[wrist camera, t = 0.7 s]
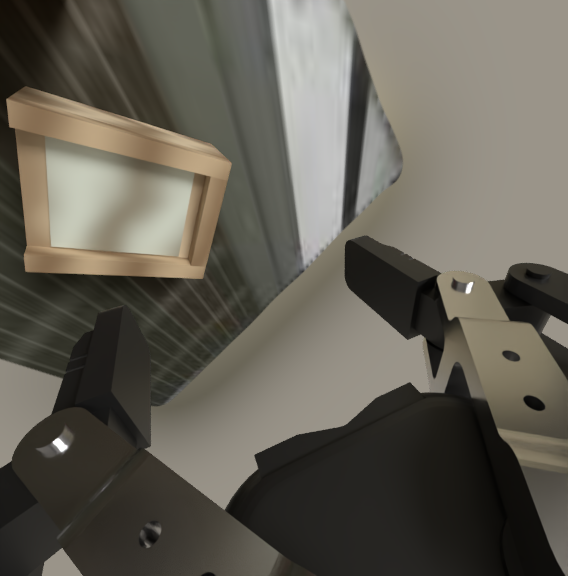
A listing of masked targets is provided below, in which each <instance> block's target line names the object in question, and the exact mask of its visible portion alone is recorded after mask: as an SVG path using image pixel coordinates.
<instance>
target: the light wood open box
mask: <svg viewBox="0 0 568 576" xmlns="http://www.w3.org/2000/svg"><path fill="white" fill-rule="evenodd" d="M6 101H7V110H8V119H9V127H11V128H15V133H16V143H17V152H18V162H19V172H20V181H21V191H22V201H23V210H24V220H25V230H26V240H27V247H26V250H25V253H24V262H25V271H26V272H44V273H69V274H95V275H120V276H146V277H171V278H197V279H203V275H204V271H205V267H206V264H207V260H208V256H209V252H210V248H211V244H212V240H213V236H214V232H215V228H216V224H217V220H218V216H219V212H220V208H221V204H222V200H223V196H224V193H225V189H226V185H227V181H228V177H229V173H230V169H231V165H232V163H231V162H230V161H229V160H228V159H227V158H226V157H225V156H223V155H222V154H221V153H220V152H219V151H218V150H217V149H216V148H215V147H214V146H213V145H212V144H209V143H206V142H203V141H200V140H197V139H193V138H190V137H187V136H184V135H181V134H177V133H174V132H171V131H168V130H165V129H161V128H158V127H155V126H152V125H149V124H145V123H142V122H139V121H136V120H133V119H129V118H126V117H123V116H120V115H117V114H113V113H110V112H107V111H104V110H101V109H97V108H94V107H91V106H88V105H85V104H81V103H78V102H75V101H72V100H69V99H65V98H62V97H59V96H56V95H53V94H49V93H46V92H43V91H40V90H37V89H33V88H30V87H27V86H25V87H24V88H22V89H21V90H19V91H18V92H16V93H15V94H13V95H12V96H10V97H9V98H7V99H6Z"/></svg>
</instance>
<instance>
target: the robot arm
mask: <svg viewBox="0 0 568 576" xmlns="http://www.w3.org/2000/svg"><path fill="white" fill-rule="evenodd" d="M345 280H346V283H347V285H348V287H349V289H350V290H351V291H353V292H354V293H355V294H356V295H357V296H358V297H359V298H360V299H362V300H363V301H364V302H365V303H366V304H367V305H368V306H369V307H371V308H372V309H373V310H374V311H375V312H376V313H377V314H379V315H380V316H381V317H382V318H383V319H384V320H386V321H387V322H388V323H389V324H390V325H391V326H392V327H393V328H395V329H396V330H397V331H398V332H399V333H400V334H401V335H403V336H404V337H405V338H406V339H407V340H408V339H411V338H413V337H415V336H418V335H420V334H421V335H422V336H424V340H423V350H424V356H425V362H426V368H427V374H428V380H429V386H430V392H429V393H420V392H419V391H418V390H417V389H416V388H415V387H414V386H413V385H412V384H411V383H407V384H405V385H403V386H401V387H399V388H396V389H394V390H392V391H390V392H388V393H386V394H384V395H381V396H379V397H377V398H376V399H375V400H373V401H372V402H371V403H370V404H369V405H368V406H367V407H366V408H364V409H363V410H362V411H361V412H360V413H359V414H358V415H357V416H356V417H354V418H353V419H352V420H351V421H350V422H349V423H348V424H346V425H344V426H342V427H338V428H332V429H327V430H322V431H316V432H310V433H305V434H299V435H296V436H294V437H292V438H289V439H287V440H285V441H283V442H281V443H279V444H277V445H275V446H272V447H270V448H268V449H266V450H264V451H262V452H259V453H257V454H255V459H256V462H257V465H258V470H257V471H255V472H254V473H253V474H252V475H251V476H249V478H248V479H247V480H246V481H245V482H244V483H243V484H242V485H241V486H240V488H239V489H238V490H237V492H236V493H235V494H234V496H233V497H232V498H231V500H230V502H229V504H228V505H227V507H226V509H225V510H223V509H222V508H221V507H219V506H218V505H217V504H216V503H214V502H213V501H212V500H210V499H209V498H208V497H206V496H205V495H204V494H202V493H201V492H200V491H199V490H197V489H196V488H195V487H193V486H192V485H191V484H189V483H188V482H187V481H186V480H184V479H183V478H182V477H180V476H179V475H178V474H176V473H175V472H174V471H173V470H171V469H170V468H169V467H167V466H166V465H165V464H163V463H162V462H161V461H160V460H158V459H157V458H156V457H154V456H153V455H152V454H150V453H149V452H148V451H146V450H145V448H148V447H150V446H151V357H150V351H149V347H148V344H147V342H146V339H145V338H144V336H143V334H142V332H141V330H140V328H139V326H138V324H137V322H136V320H135V318H134V317H133V315H132V313H131V311H130V309H129V308H128V307H127V306H126V305H122V306H119V307H116V308H112V309H109V310H105V311H102V312H99V313H98V316H97V320H96V324H95V328H94V330H93V331H90V332H87V333H85V334H84V335H83V336H82V337H81V339H80V340H79V341H78V342H77V343H76V345H75V346H74V347H73V351H72V354H71V357H70V362H69V363H68V366H67V369H66V374H65V375H64V378H63V381H62V384H61V387H60V390H59V393H58V396H57V399H56V403H55V405H54V408H53V411H52V414H51V415H50V416H48V417H47V418H45V419H44V420H42V421H41V422H39V423H38V424H37V425H36V426H35V427H33V428H32V429H31V430H30V431H29V432H28V433H27V434H26V435H25V437H24V438H23V439H22V440H21V442H20V443H19V445H18V446H17V448H16V450H15V451H14V454H13V457H12V461H11V462H10V463H8V464H7V465H5V466H4V467H2V468H0V576H42V571H43V566H44V562H45V561H46V560H47V559H49V558H50V557H51V556H52V555H54V554H55V553H56V552H57V551H59V550H60V549H61V548H63V549H64V551H65V552H66V554H67V555H68V556H69V557H70V559H71V560H72V562H73V563H74V564H75V566H76V567H77V568H78V569H79V571H80V572H81V574H82V575H83V576H568V349H567V348H566V347H564V346H562V345H561V344H559V343H557V342H556V341H554V340H552V339H551V338H549V337H547V336H545V335H544V334H542V331H543V328H544V327H545V325H546V323H547V321H548V319H549V318H550V316H551V315H552V316H554V317H556V318H558V319H559V320H561V321H563V322H565V323H567V324H568V274H566V273H564V272H562V271H559V270H557V269H554V268H552V267H548V266H545V265H540V264H533V263H520V264H515V265H512V266H511V267H510V268H509V270H508V273H507V276H506V278H505V280H497V281H486V280H485V279H484V278H482V277H480V276H478V275H476V274H473V273H469V272H464V271H448V272H444V273H440V272H438V271H436V270H434V269H433V268H431V267H429V266H427V265H425V264H424V263H422V262H420V261H418V260H416V259H413V258H412V257H411V256H409V255H407V254H404V253H403V252H402V251H400V250H398V249H396V248H394V247H391V246H387V245H383V244H381V243H379V242H377V241H375V240H374V239H372V238H370V237H369V236H362V237H358V238H355V239H351V240H348V241H347V242H346V245H345Z"/></svg>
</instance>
